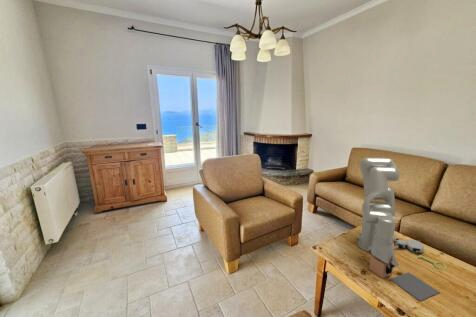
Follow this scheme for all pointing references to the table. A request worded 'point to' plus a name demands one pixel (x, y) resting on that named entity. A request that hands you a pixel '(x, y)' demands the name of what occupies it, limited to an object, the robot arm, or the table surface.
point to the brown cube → (378, 267)
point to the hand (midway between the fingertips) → (380, 267)
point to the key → (433, 263)
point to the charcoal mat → (414, 286)
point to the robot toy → (409, 245)
